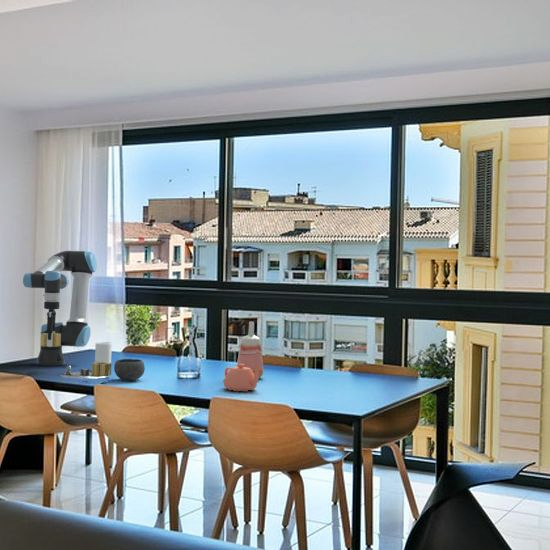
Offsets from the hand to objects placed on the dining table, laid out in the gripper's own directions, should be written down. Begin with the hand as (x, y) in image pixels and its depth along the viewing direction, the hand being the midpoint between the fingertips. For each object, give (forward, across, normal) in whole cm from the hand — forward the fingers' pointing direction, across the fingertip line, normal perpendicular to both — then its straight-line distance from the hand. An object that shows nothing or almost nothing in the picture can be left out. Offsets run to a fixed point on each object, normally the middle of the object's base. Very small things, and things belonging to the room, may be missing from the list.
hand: (50, 345), depth 399 cm
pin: (+14, +9, +10) cm, 19 cm away
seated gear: (+14, +9, +26) cm, 31 cm away
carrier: (+15, +9, +18) cm, 25 cm away
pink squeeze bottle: (+16, +4, +102) cm, 103 cm away
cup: (+16, -8, +26) cm, 31 cm away
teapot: (+15, +43, +93) cm, 104 cm away
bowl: (+15, +15, +40) cm, 45 cm away
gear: (0, 0, 0) cm, 0 cm away
